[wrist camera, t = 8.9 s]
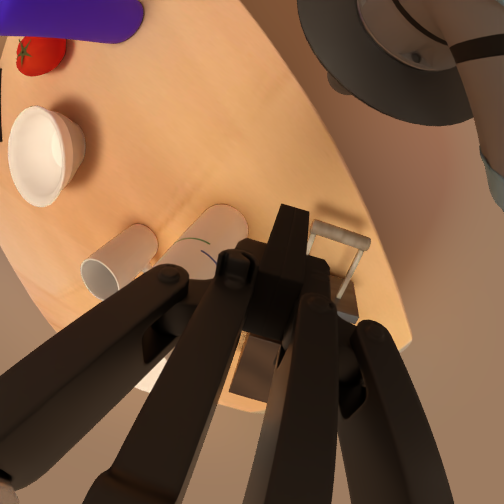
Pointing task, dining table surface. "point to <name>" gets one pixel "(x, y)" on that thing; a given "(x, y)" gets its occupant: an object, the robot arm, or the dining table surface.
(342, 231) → the drawer
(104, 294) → the mug
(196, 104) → the dining table surface
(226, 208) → the cylindrical container
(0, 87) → the lantern
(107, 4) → the bottle
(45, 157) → the bowl
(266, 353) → the cabinet
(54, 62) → the tomato
